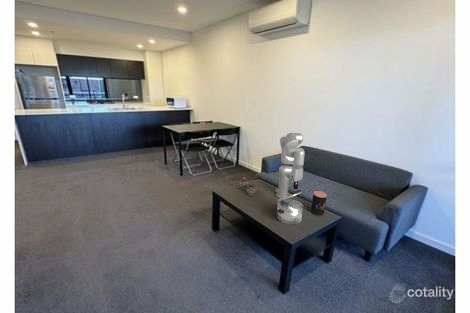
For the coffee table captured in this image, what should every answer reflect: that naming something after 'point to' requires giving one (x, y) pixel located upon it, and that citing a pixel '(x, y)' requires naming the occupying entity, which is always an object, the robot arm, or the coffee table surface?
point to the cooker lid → (291, 195)
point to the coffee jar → (318, 203)
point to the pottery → (251, 188)
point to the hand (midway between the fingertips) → (295, 188)
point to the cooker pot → (289, 211)
